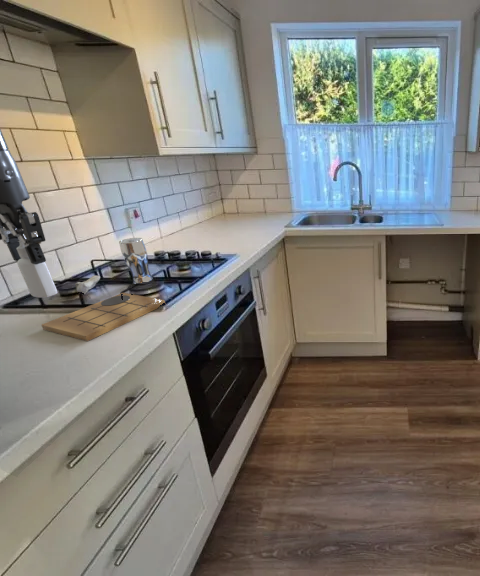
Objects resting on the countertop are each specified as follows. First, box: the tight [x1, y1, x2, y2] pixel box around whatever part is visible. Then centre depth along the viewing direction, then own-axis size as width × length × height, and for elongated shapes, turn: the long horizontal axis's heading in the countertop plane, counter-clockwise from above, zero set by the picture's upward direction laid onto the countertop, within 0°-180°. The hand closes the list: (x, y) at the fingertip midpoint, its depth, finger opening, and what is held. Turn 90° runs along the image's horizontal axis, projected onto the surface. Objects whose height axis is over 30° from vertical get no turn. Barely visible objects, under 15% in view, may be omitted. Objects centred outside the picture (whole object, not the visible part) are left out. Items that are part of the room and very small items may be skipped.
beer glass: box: [118, 237, 154, 285], centre depth 123 cm, size 7×7×15 cm
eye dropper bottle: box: [16, 240, 58, 299], centre depth 75 cm, size 4×6×12 cm
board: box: [41, 292, 166, 342], centre depth 101 cm, size 22×18×2 cm
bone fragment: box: [74, 275, 101, 295], centre depth 120 cm, size 5×11×4 cm, turn 18°
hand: (30, 261), depth 74 cm, fingers closed on eye dropper bottle, 5 cm apart
